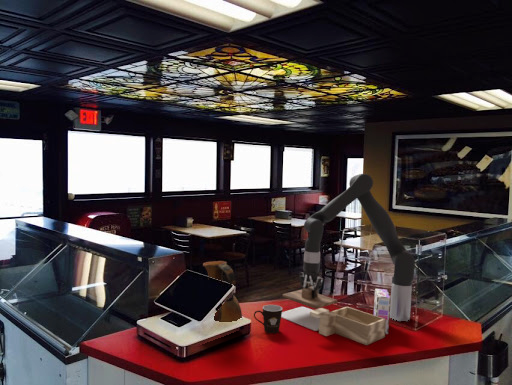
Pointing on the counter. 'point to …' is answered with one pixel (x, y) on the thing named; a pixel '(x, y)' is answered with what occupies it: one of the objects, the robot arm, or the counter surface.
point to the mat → (302, 317)
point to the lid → (309, 298)
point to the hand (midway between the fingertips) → (309, 296)
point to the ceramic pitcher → (230, 307)
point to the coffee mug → (271, 318)
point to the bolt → (319, 312)
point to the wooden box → (353, 325)
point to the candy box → (382, 305)
